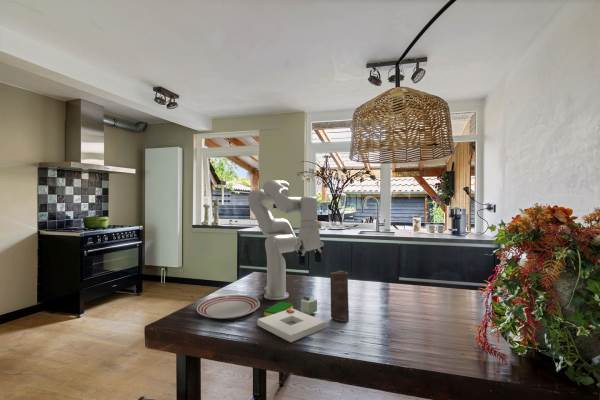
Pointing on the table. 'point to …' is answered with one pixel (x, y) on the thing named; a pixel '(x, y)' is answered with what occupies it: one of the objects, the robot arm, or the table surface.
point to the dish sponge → (278, 308)
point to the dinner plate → (228, 306)
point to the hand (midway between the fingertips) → (310, 263)
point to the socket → (291, 324)
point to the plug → (308, 305)
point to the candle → (339, 296)
